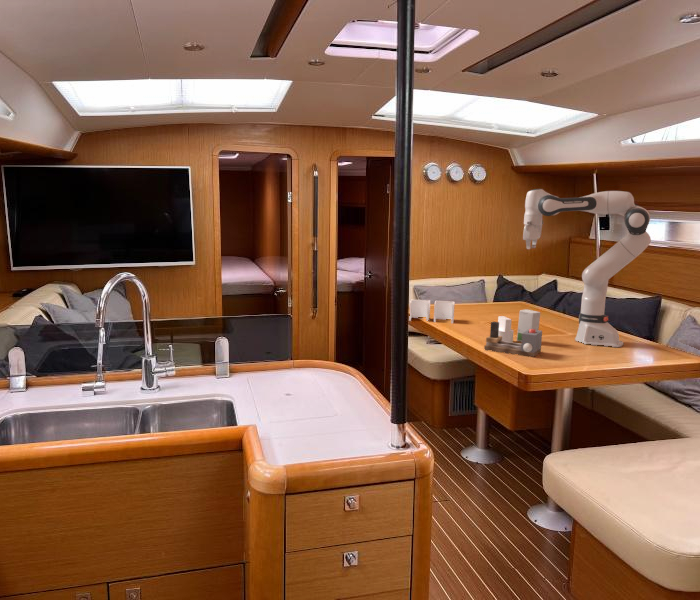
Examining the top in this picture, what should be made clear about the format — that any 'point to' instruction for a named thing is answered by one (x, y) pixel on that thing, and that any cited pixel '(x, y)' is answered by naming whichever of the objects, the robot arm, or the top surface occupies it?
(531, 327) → the skincare box
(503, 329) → the base with upright slab
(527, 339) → the end cabinet
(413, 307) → the white slotted rack
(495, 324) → the carriage
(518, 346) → the rail board
